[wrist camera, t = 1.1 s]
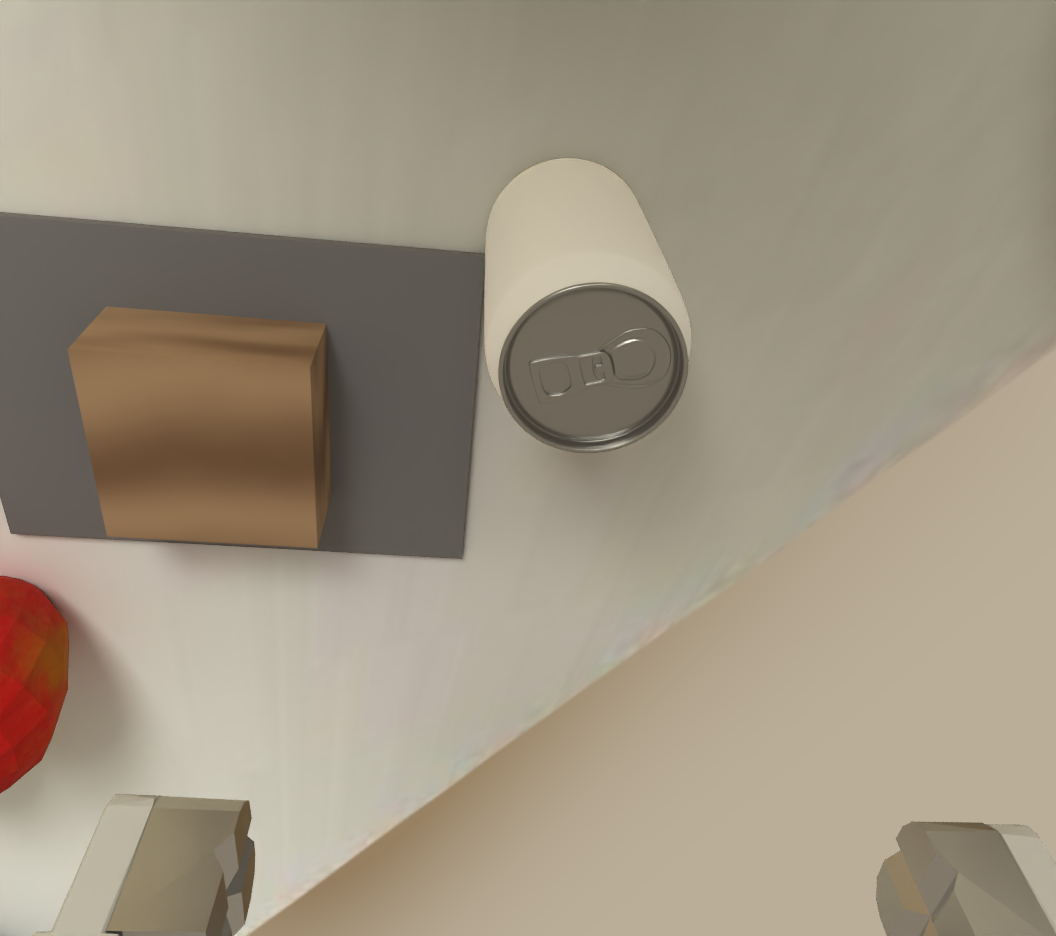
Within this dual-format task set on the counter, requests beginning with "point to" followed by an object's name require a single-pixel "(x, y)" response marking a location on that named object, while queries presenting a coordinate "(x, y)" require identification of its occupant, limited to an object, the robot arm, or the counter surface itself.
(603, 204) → the can
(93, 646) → the counter surface
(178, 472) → the plinth
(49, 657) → the apple
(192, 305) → the mat
